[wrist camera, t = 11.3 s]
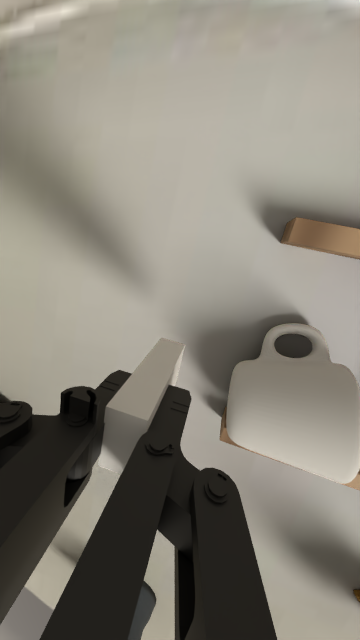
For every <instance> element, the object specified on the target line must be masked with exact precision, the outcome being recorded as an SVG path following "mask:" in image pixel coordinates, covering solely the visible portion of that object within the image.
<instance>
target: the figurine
mask: <svg viewBox="0 0 360 640" xmlns="http://www.w3.org/2000/svg"><path fill="white" fill-rule="evenodd" d="M354 594H355V596H356V598H357V600H358V601H359V602H360V590H354Z"/></svg>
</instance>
